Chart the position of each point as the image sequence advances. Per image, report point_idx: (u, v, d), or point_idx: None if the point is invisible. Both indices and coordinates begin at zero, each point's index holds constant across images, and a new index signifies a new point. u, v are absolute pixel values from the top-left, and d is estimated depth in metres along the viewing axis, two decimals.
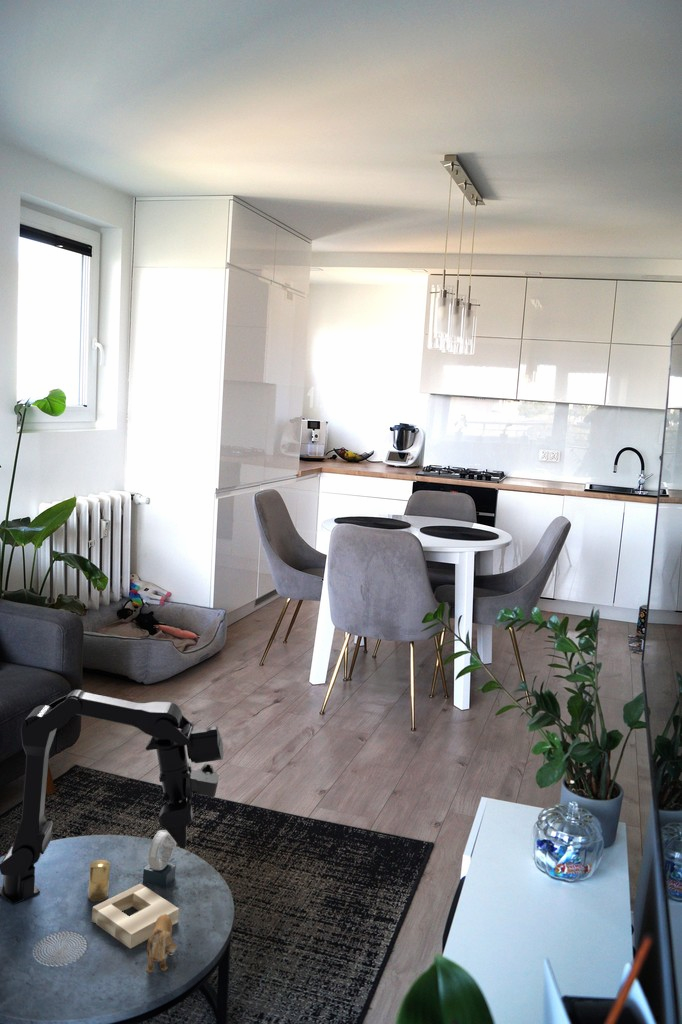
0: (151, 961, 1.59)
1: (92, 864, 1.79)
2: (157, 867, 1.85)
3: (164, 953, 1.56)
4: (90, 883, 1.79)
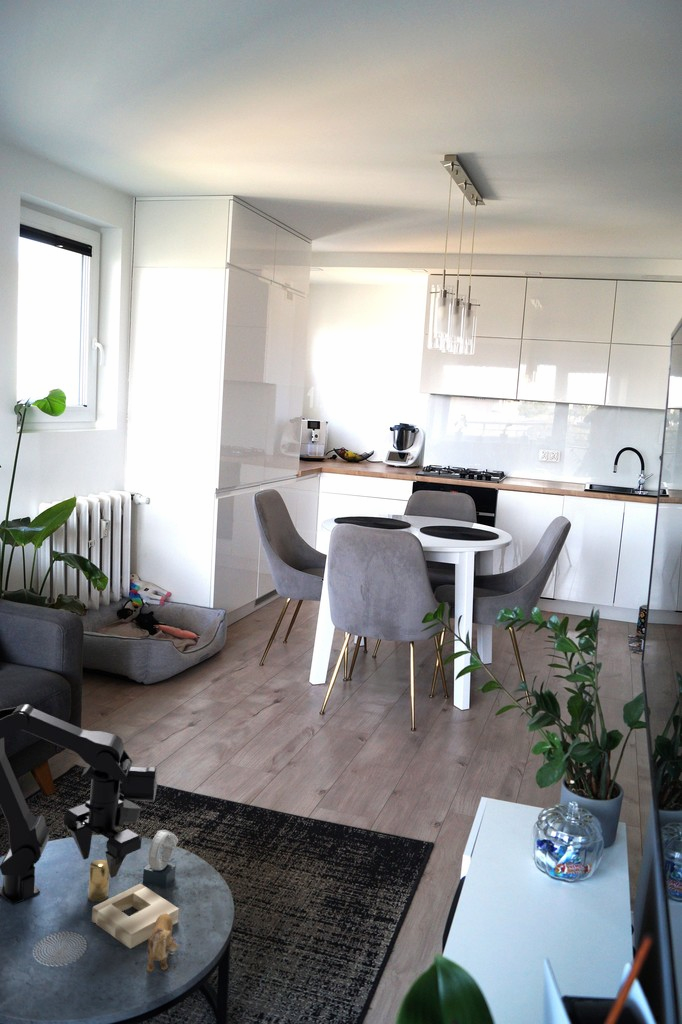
0: (151, 960, 1.60)
1: (92, 864, 1.79)
2: (157, 867, 1.85)
3: (164, 952, 1.56)
4: (90, 883, 1.79)
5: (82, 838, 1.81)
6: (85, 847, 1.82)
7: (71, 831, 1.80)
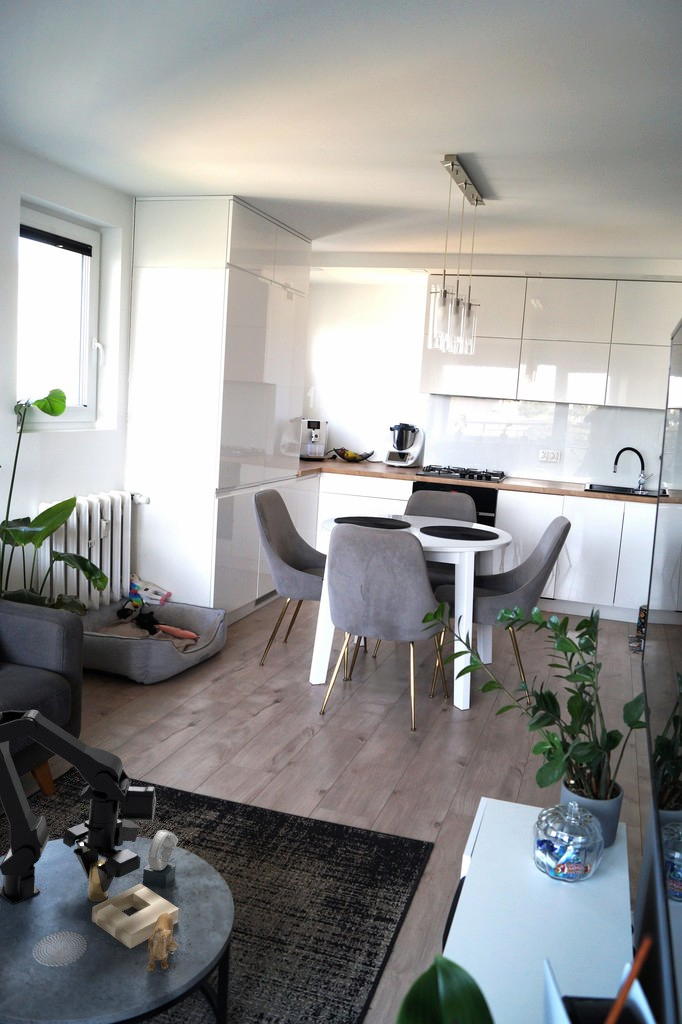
0: (152, 959, 1.60)
1: (92, 864, 1.79)
2: (157, 867, 1.85)
3: (164, 952, 1.56)
4: (90, 883, 1.79)
5: (88, 862, 1.80)
6: None
7: (77, 855, 1.79)
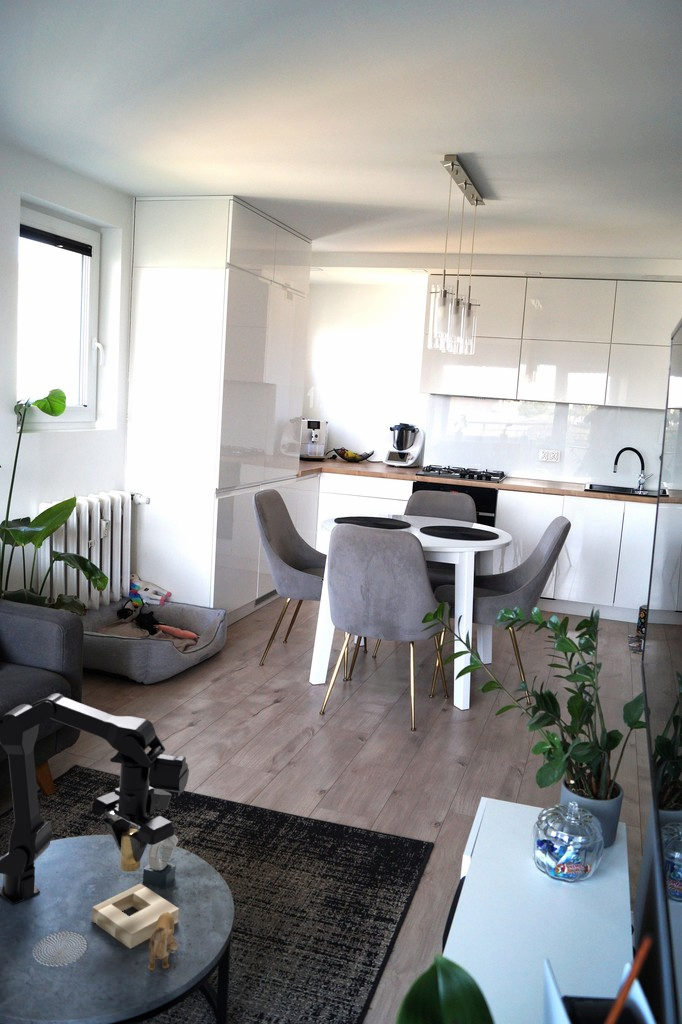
0: (153, 959, 1.60)
1: (123, 833, 1.73)
2: (157, 867, 1.85)
3: (165, 951, 1.56)
4: (122, 852, 1.72)
5: (119, 831, 1.74)
6: None
7: (108, 824, 1.73)
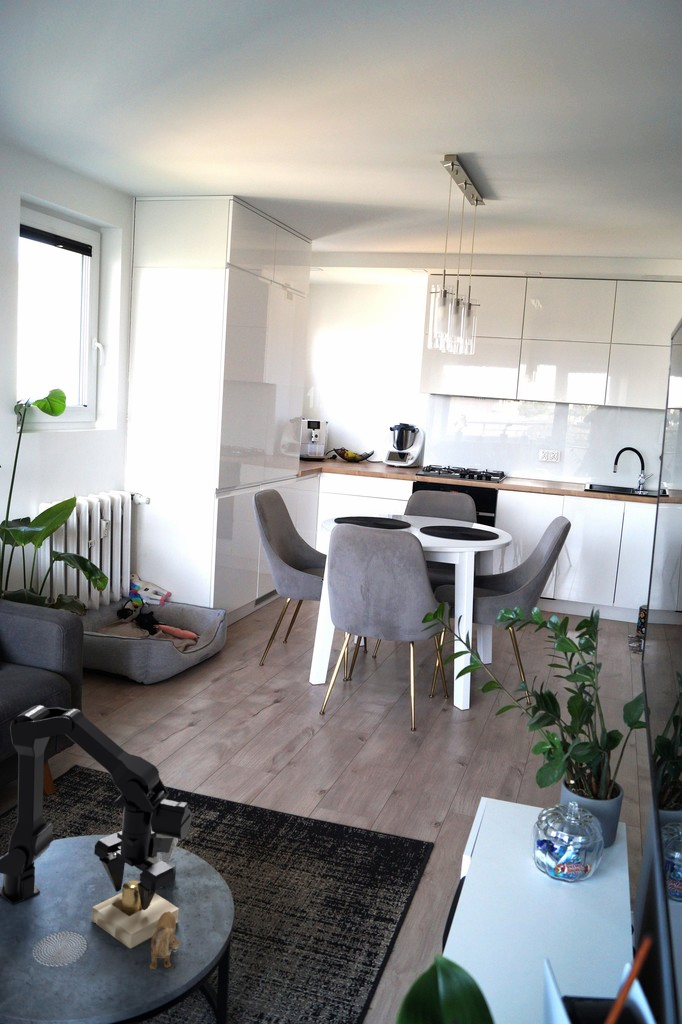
0: (155, 958, 1.60)
1: (124, 885, 1.73)
2: None
3: (167, 950, 1.57)
4: (123, 905, 1.72)
5: (114, 870, 1.75)
6: (117, 879, 1.76)
7: (103, 863, 1.74)
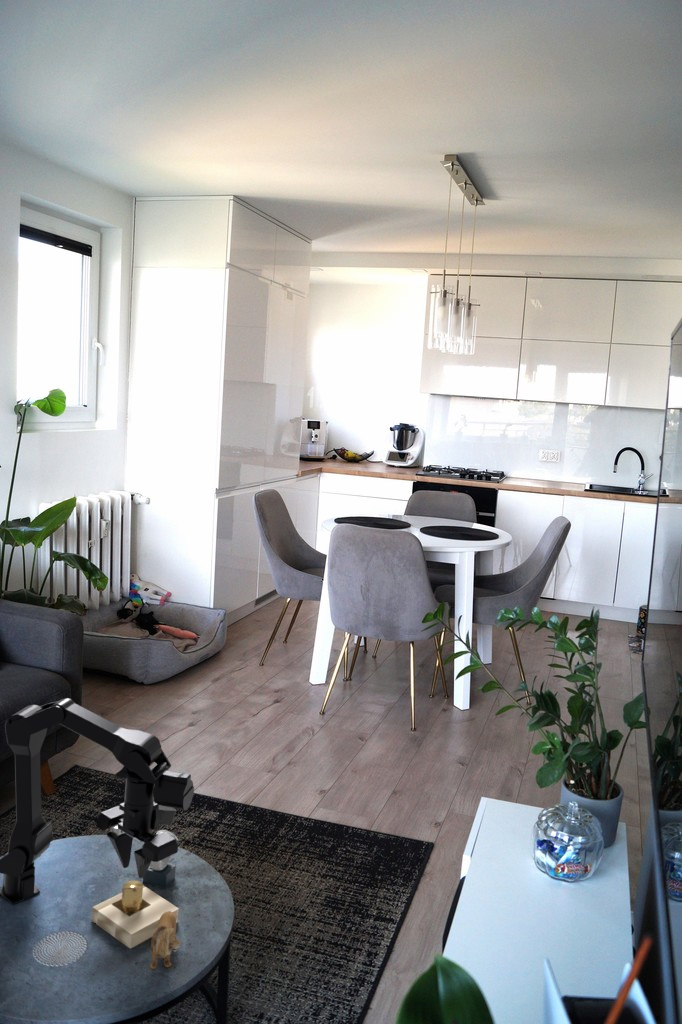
0: (155, 957, 1.60)
1: (124, 885, 1.73)
2: (157, 867, 1.85)
3: (167, 949, 1.57)
4: (123, 905, 1.72)
5: (122, 846, 1.73)
6: (125, 855, 1.74)
7: (111, 839, 1.72)
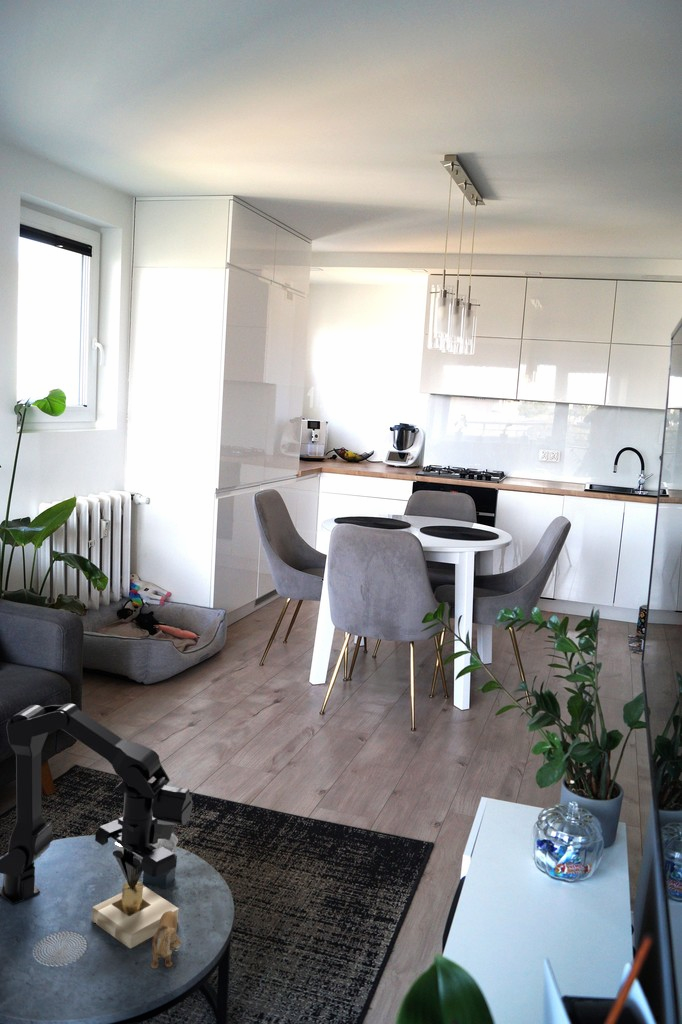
0: (156, 957, 1.61)
1: (124, 885, 1.73)
2: None
3: (168, 949, 1.57)
4: (123, 905, 1.72)
5: None
6: None
7: (117, 857, 1.71)
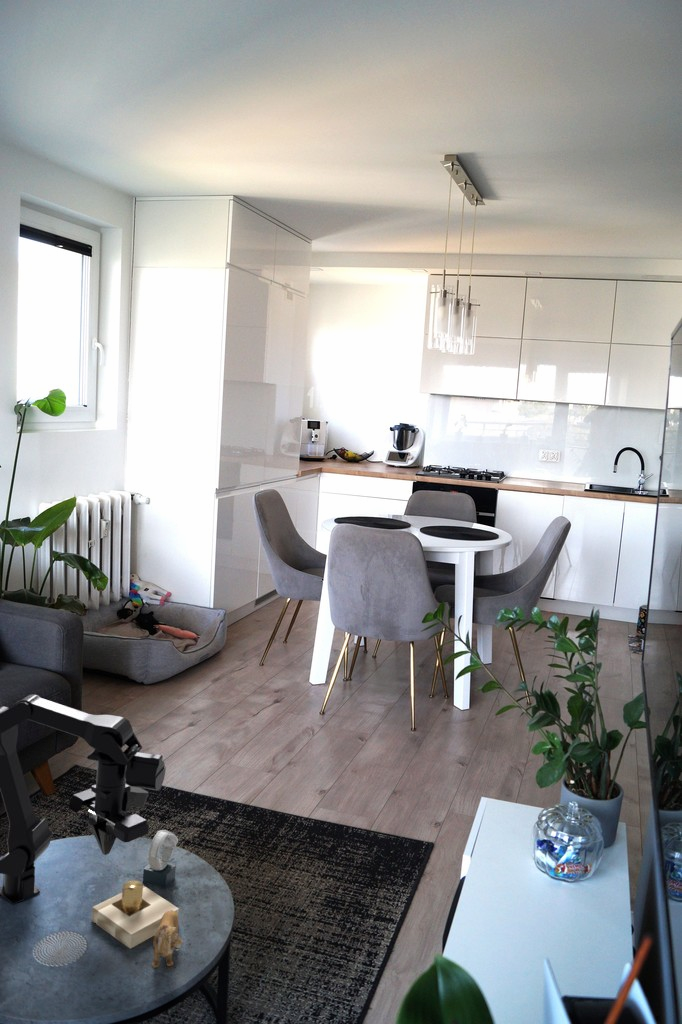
0: (157, 956, 1.61)
1: (124, 885, 1.73)
2: (157, 867, 1.85)
3: (169, 948, 1.57)
4: (123, 905, 1.72)
5: None
6: None
7: (90, 825, 1.73)
